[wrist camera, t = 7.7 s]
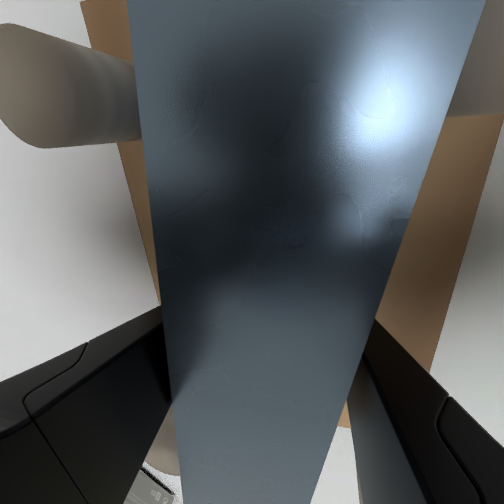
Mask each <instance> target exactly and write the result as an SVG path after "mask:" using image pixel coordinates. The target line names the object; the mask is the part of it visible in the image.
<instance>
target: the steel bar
mask: <svg viewBox="0 0 504 504" xmlns="http://www.w3.org/2000/svg"><path fill="white" fill-rule="evenodd" d="M485 2H486V0H127V9H128V18H129V27H130V35H131V44H132V53H133V62H134V71H135V80H136V88H137V97H138V106H139V115H140V124H141V133H142V141H143V150H144V159H145V168H146V177H147V186H148V194H149V203H150V212H151V221H152V230H153V239H154V247H155V256H156V265H157V274H158V283H159V292H160V300H161V309H162V318H163V327H164V336H165V344H166V353H167V362H168V371H169V380H170V389H171V397H172V406H173V415H174V424H175V433H176V442H177V450H178V459H179V468H180V477H181V486H182V495H183V503H184V504H310V502H311V499H312V496H313V494H314V491H315V488H316V485H317V482H318V479H319V476H320V474H321V471H322V468H323V465H324V462H325V459H326V456H327V453H328V451H329V448H330V445H331V442H332V439H333V436H334V433H335V431H336V428H337V425H338V422H339V419H340V416H341V413H342V411H343V408H344V405H345V402H346V399H347V396H348V393H349V391H350V388H351V385H352V382H353V379H354V376H355V373H356V371H357V368H358V365H359V362H360V359H361V356H362V353H363V351H364V348H365V345H366V342H367V339H368V336H369V333H370V331H371V328H372V325H373V322H374V319H375V316H376V313H377V311H378V308H379V305H380V302H381V299H382V296H383V293H384V290H385V288H386V285H387V282H388V279H389V276H390V273H391V270H392V268H393V265H394V262H395V259H396V256H397V253H398V250H399V248H400V245H401V242H402V239H403V236H404V233H405V230H406V228H407V225H408V222H409V219H410V216H411V213H412V210H413V208H414V205H415V202H416V199H417V196H418V193H419V190H420V188H421V185H422V182H423V179H424V176H425V173H426V170H427V168H428V165H429V162H430V159H431V156H432V153H433V150H434V148H435V145H436V142H437V139H438V136H439V133H440V130H441V127H442V125H443V122H444V119H445V116H446V113H447V110H448V107H449V105H450V102H451V99H452V96H453V93H454V90H455V87H456V85H457V82H458V79H459V76H460V73H461V70H462V67H463V65H464V62H465V59H466V56H467V53H468V50H469V47H470V45H471V42H472V39H473V36H474V33H475V30H476V27H477V25H478V22H479V19H480V16H481V13H482V10H483V7H484V5H485Z"/></svg>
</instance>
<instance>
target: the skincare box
mask: <svg viewBox="0 0 504 504" xmlns="http://www.w3.org/2000/svg"><path fill="white" fill-rule="evenodd" d="M172 502H173V496H172V495H170V494H169V493H168V492H167V491H166V490H165V489H163V488H162V487H161V486H160V485H158V484H157V483H156V482H154V481H153V480H152V479H151V478H149V477H148V476H147V475H146V474H145V473H144V472H143V471H142V470H141V469H140V470H139V472H138V474H137V477H136V479H135V481H134V483H133V485H132V487H131V489H130V491H129V493H128V495H127V497H126V499H125V501H124V503H123V504H172Z"/></svg>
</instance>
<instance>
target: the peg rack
mask: <svg viewBox="0 0 504 504" xmlns="http://www.w3.org/2000/svg"><path fill="white" fill-rule="evenodd" d="M80 5H81V9H82V13H83V17H84V20H85V24H86V28H87V32H88V35H89V39H90V43H91V47H92V49H90V48H87V47H84V46H81V45H78V44H75V43H72V42H69V41H66V40H63V39H60V38H57V37H54V36H51V35H47V34H44V33H41V32H38V31H35V30H32V29H29V28H26V27H23V26H20V25H16V24H10V23H7V24H1V25H0V119H1V120H2V121H3V123H4V124H5V125H6V126H7V127H8V128H9V130H10V131H11V132H13V133H14V134H15V135H16V136H17V137H18V138H20V139H21V140H23V141H24V142H26V143H28V144H30V145H32V146H35V147H38V148H59V147H71V146H82V145H94V144H105V143H117V145H118V149H119V153H120V156H121V160H122V164H123V168H124V172H125V175H126V179H127V183H128V187H129V191H130V194H131V198H132V202H133V206H134V209H135V213H136V217H137V221H138V225H139V228H140V232H141V236H142V240H143V243H144V247H145V251H146V255H147V259H148V262H149V266H150V270H151V274H152V278H153V281H154V285H155V289H156V293H157V296H158V300H159V304H160V305H161V300H160V292H159V283H158V274H157V265H156V256H155V247H154V239H153V230H152V221H151V212H150V203H149V194H148V186H147V177H146V168H145V159H144V150H143V141H142V133H141V124H140V115H139V106H138V97H137V88H136V80H135V71H134V62H133V53H132V44H131V35H130V27H129V18H128V9H127V0H85V1H81V2H80ZM503 119H504V0H486V2H485V5H484V7H483V10H482V13H481V16H480V19H479V22H478V25H477V27H476V30H475V33H474V36H473V39H472V42H471V45H470V47H469V50H468V53H467V56H466V59H465V62H464V65H463V67H462V70H461V73H460V76H459V79H458V82H457V85H456V87H455V90H454V93H453V96H452V99H451V102H450V105H449V107H448V110H447V113H446V116H445V119H444V122H443V125H442V127H441V130H440V133H439V136H438V139H437V142H436V145H435V148H434V150H433V153H432V156H431V159H430V162H429V165H428V168H427V170H426V173H425V176H424V179H423V182H422V185H421V188H420V190H419V193H418V196H417V199H416V202H415V205H414V208H413V210H412V213H411V216H410V219H409V222H408V225H407V228H406V230H405V233H404V236H403V239H402V242H401V245H400V248H399V250H398V253H397V256H396V259H395V262H394V265H393V268H392V270H391V273H390V276H389V279H388V282H387V285H386V288H385V290H384V293H383V296H382V299H381V302H380V305H379V308H378V311H377V313H376V316H375V319H376V320H377V321H378V322H379V323H380V324H381V325H382V326H383V327H384V328H385V329H386V330H387V331H388V332H389V333H390V334H391V335H392V336H393V337H394V338H395V339H396V340H397V341H398V342H399V343H400V344H401V345H402V346H403V347H404V348H405V349H406V350H407V351H408V352H409V353H410V354H411V356H412V357H413V358H414V359H415V360H416V361H417V362H418V363H419V364H420V365H421V366H422V367H423V368H424V369H425V370H426V371H427V372H428V373H429V371H430V368H431V365H432V361H433V358H434V354H435V351H436V348H437V344H438V341H439V337H440V334H441V331H442V327H443V324H444V320H445V317H446V314H447V310H448V307H449V303H450V300H451V296H452V293H453V290H454V286H455V283H456V279H457V276H458V273H459V269H460V266H461V262H462V259H463V256H464V252H465V249H466V245H467V242H468V239H469V235H470V232H471V228H472V225H473V222H474V218H475V215H476V211H477V208H478V205H479V201H480V198H481V194H482V191H483V188H484V184H485V181H486V177H487V174H488V171H489V167H490V164H491V160H492V157H493V154H494V150H495V147H496V143H497V140H498V136H499V133H500V130H501V126H502V123H503ZM337 426H341V427H346V428H351V425H350V419H349V413H348V407H347V401H346V402H345V405H344V408H343V411H342V413H341V416H340V419H339V422H338V425H337ZM355 459H356V457H355ZM144 461H145V462H147V463H148V464H149V465H150V466H152V467H153V468H155V469H156V470H158V471H160V472H163V473H165V474H169V475H174V476H179V475H180V468H179V459H178V450H177V442H176V433H175V424H174V415H173V406H172V404H171V407H170V409H169V411H168V413H167V415H166V417H165V419H164V421H163V423H162V425H161V427H160V429H159V431H158V433H157V435H156V437H155V439H154V442H153V444H152V446H151V448H150V450H149V452H148V454H147V456H146V458H145V460H144ZM356 470H357V480H358V491H359V501H360V504H363V500H362V494H361V488H360V481H359V475H358V469H357V463H356Z"/></svg>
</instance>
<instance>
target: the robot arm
mask: <svg viewBox="0 0 504 504" xmlns="http://www.w3.org/2000/svg"><path fill="white" fill-rule="evenodd" d="M346 401H347V407H348V413H349V419H350V425H351V432H352V438H353V444H354V450H355V457H356V463H357V469H358V475H359V481H360V488H361V494H362V500H363V504H504V447H503V446H502V445H501V444H500V443H498V442H497V441H496V440H495V439H494V438H493V437H492V436H491V435H490V434H489V433H488V432H487V431H486V430H485V429H484V428H483V427H482V426H481V425H480V424H479V423H478V422H477V421H476V420H475V419H474V418H473V417H472V416H471V415H470V414H469V413H468V412H467V411H466V410H465V409H464V408H463V407H462V406H461V405H460V404H459V403H458V402H457V401H456V400H455V399H454V398H453V397H451V396H450V397H449V393H448V392H447V391H446V390H445V389H444V388H443V387H442V386H441V385H440V384H439V383H438V382H437V381H436V380H435V379H434V378H433V377H432V376H431V375H430V374H429V373H428V372H427V371H426V370H425V369H424V368H423V367H422V366H421V365H420V364H419V363H418V362H417V361H416V360H415V359H414V358H413V357H412V356H411V354H410V353H409V352H408V351H407V350H406V349H405V348H404V347H403V346H402V345H401V344H400V343H399V342H398V341H397V340H396V339H395V338H394V337H393V336H392V335H391V334H390V333H389V332H388V331H387V330H386V329H385V328H384V327H383V326H382V325H381V324H380V323H379V322H378V321H377V320H376V319H374V322H373V325H372V328H371V331H370V333H369V336H368V339H367V342H366V345H365V348H364V351H363V353H362V356H361V359H360V362H359V365H358V368H357V371H356V373H355V376H354V379H353V382H352V385H351V388H350V391H349V393H348V396H347V399H346ZM171 404H172V397H171V389H170V380H169V371H168V362H167V353H166V344H165V336H164V327H163V318H162V309H161V305H160V306H158V307H156V308H154V309H152V310H150V311H148V312H146V313H144V314H142V315H140V316H138V317H136V318H134V319H132V320H130V321H128V322H126V323H124V324H122V325H120V326H118V327H116V328H114V329H112V330H110V331H108V332H106V333H104V334H102V335H100V336H98V337H96V338H94V339H92V340H90V341H89V342H86V343H84V344H82V345H80V346H78V347H76V348H74V349H72V350H70V351H67V352H65V353H63V354H61V355H59V356H57V357H55V358H53V359H51V360H49V361H46V362H44V363H42V364H40V365H38V366H35V367H33V368H31V369H29V370H27V371H24V372H22V373H20V374H17V375H15V376H13V377H11V378H8V379H6V380H4V381H2V382H0V504H123V503H124V501H125V499H126V497H127V495H128V493H129V491H130V489H131V487H132V485H133V483H134V481H135V479H136V477H137V474H138V472H139V470H140V468H141V466H142V464H143V462H144V460H145V458H146V456H147V454H148V452H149V450H150V448H151V446H152V444H153V442H154V439H155V437H156V435H157V433H158V431H159V429H160V427H161V425H162V423H163V421H164V419H165V417H166V415H167V413H168V411H169V409H170V407H171Z"/></svg>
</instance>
